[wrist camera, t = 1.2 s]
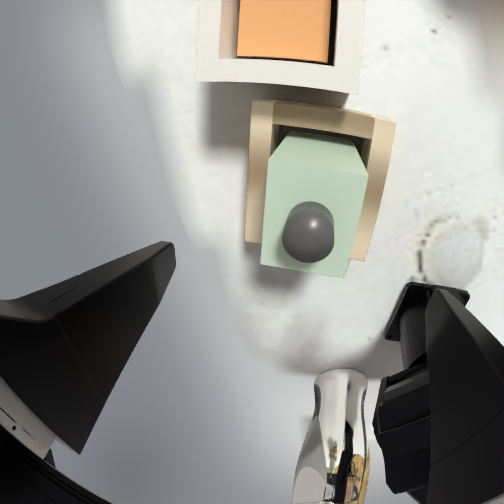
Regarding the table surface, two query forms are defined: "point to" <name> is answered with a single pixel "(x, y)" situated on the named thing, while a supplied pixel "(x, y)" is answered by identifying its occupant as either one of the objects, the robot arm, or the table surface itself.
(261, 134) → the tan wooden frame
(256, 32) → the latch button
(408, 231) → the table surface
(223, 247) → the table surface
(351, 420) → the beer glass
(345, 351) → the table surface
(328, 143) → the plug
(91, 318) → the robot arm
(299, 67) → the socket
